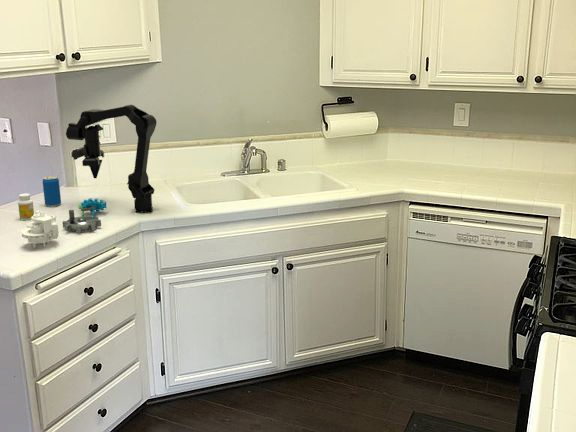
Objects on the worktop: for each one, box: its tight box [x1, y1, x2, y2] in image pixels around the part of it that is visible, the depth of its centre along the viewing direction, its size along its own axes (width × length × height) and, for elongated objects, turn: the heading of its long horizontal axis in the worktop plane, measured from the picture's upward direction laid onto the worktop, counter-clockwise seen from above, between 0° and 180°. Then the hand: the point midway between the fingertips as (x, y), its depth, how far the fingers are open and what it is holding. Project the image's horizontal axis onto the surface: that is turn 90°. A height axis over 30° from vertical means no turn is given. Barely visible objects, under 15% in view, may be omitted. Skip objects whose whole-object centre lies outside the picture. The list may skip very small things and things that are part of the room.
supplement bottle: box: [17, 193, 35, 221], centre depth 254 cm, size 5×5×10 cm
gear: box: [77, 197, 107, 217], centre depth 260 cm, size 11×6×10 cm
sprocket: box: [62, 209, 102, 233], centre depth 242 cm, size 14×14×8 cm
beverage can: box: [42, 175, 62, 208], centre depth 272 cm, size 6×6×12 cm
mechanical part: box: [20, 209, 60, 248], centre depth 225 cm, size 11×12×12 cm
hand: (95, 178), depth 269 cm, fingers closed
